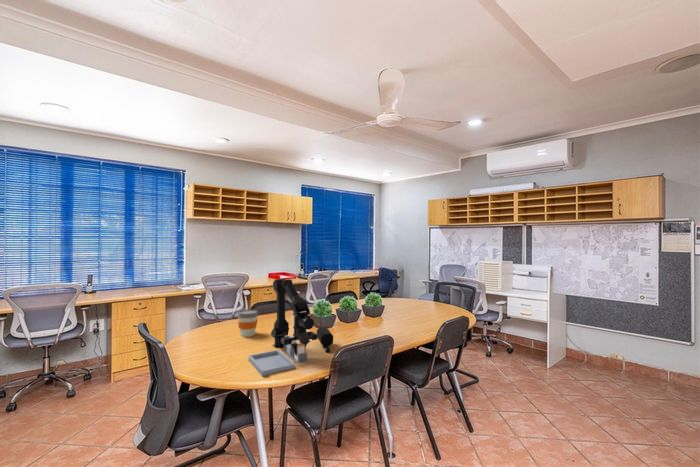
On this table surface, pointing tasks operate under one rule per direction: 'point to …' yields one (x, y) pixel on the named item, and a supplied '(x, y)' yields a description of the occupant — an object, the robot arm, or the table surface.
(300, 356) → the clip block
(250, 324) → the reusable coffee cup
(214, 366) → the table surface
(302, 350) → the block
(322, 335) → the security camera
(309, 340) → the robot arm
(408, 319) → the table surface
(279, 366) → the tray
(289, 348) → the block
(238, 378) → the table surface
